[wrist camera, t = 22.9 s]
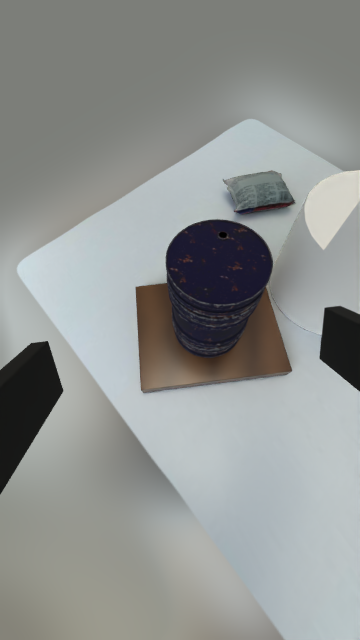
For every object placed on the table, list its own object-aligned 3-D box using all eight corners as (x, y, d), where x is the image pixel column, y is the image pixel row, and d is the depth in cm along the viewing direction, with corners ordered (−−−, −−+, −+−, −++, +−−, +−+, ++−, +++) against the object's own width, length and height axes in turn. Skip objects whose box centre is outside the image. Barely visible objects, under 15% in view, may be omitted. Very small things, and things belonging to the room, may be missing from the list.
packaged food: (221, 190, 51) (224, 167, 46) (277, 182, 52) (286, 158, 47) (232, 222, 47) (237, 200, 43) (293, 213, 48) (304, 190, 43)
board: (143, 392, 35) (140, 390, 33) (137, 293, 41) (135, 286, 40) (287, 374, 35) (292, 371, 33) (258, 279, 42) (261, 271, 40)
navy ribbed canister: (237, 365, 34) (270, 316, 20) (166, 351, 35) (152, 296, 21) (245, 301, 38) (276, 225, 24) (180, 290, 39) (177, 212, 25)
